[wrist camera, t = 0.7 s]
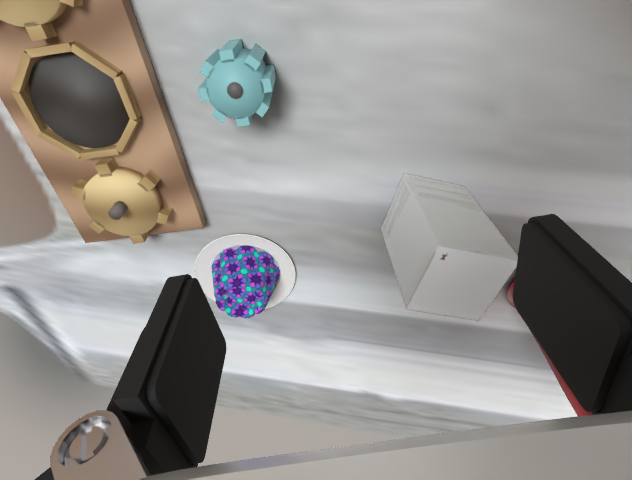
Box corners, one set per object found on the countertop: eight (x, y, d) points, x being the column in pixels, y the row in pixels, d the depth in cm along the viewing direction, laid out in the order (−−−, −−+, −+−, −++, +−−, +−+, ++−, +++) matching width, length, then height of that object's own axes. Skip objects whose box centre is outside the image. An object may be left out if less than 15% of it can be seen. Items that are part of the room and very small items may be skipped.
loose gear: (202, 45, 32) (187, 56, 28) (268, 34, 32) (263, 45, 28) (220, 111, 36) (209, 131, 31) (280, 103, 35) (277, 121, 31)
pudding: (260, 319, 52) (256, 351, 48) (178, 279, 47) (165, 310, 43) (315, 263, 47) (317, 293, 42) (229, 211, 42) (220, 239, 38)
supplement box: (378, 229, 44) (402, 310, 33) (403, 170, 39) (439, 242, 29) (438, 241, 45) (479, 324, 34) (468, 186, 41) (524, 260, 30)
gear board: (-96, -95, 27) (-159, -105, 23) (85, -127, 26) (49, -143, 22) (91, 235, 43) (72, 260, 39) (206, 220, 42) (197, 244, 38)
